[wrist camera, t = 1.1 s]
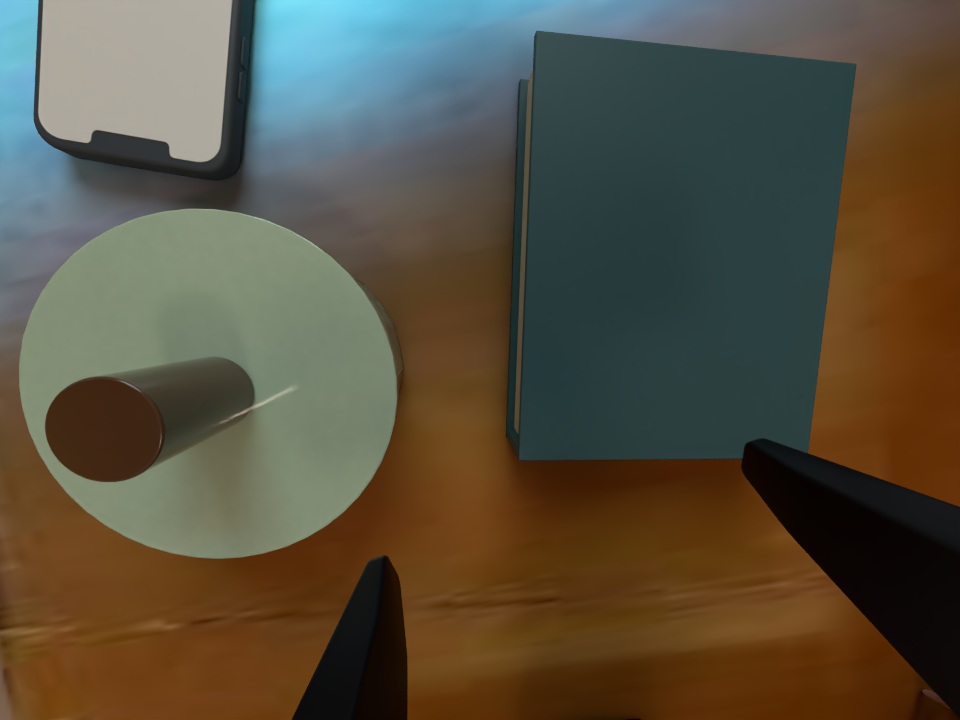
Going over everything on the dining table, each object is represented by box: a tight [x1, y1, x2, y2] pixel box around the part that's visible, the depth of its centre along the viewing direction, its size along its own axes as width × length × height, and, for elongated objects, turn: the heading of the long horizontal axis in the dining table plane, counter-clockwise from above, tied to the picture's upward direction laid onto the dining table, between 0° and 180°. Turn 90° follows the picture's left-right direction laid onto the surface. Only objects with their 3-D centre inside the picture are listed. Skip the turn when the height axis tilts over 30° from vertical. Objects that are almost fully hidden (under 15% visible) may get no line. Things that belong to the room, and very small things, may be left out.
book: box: [506, 31, 856, 461], centre depth 21 cm, size 20×16×4 cm
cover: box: [19, 209, 399, 559], centre depth 13 cm, size 14×14×6 cm
